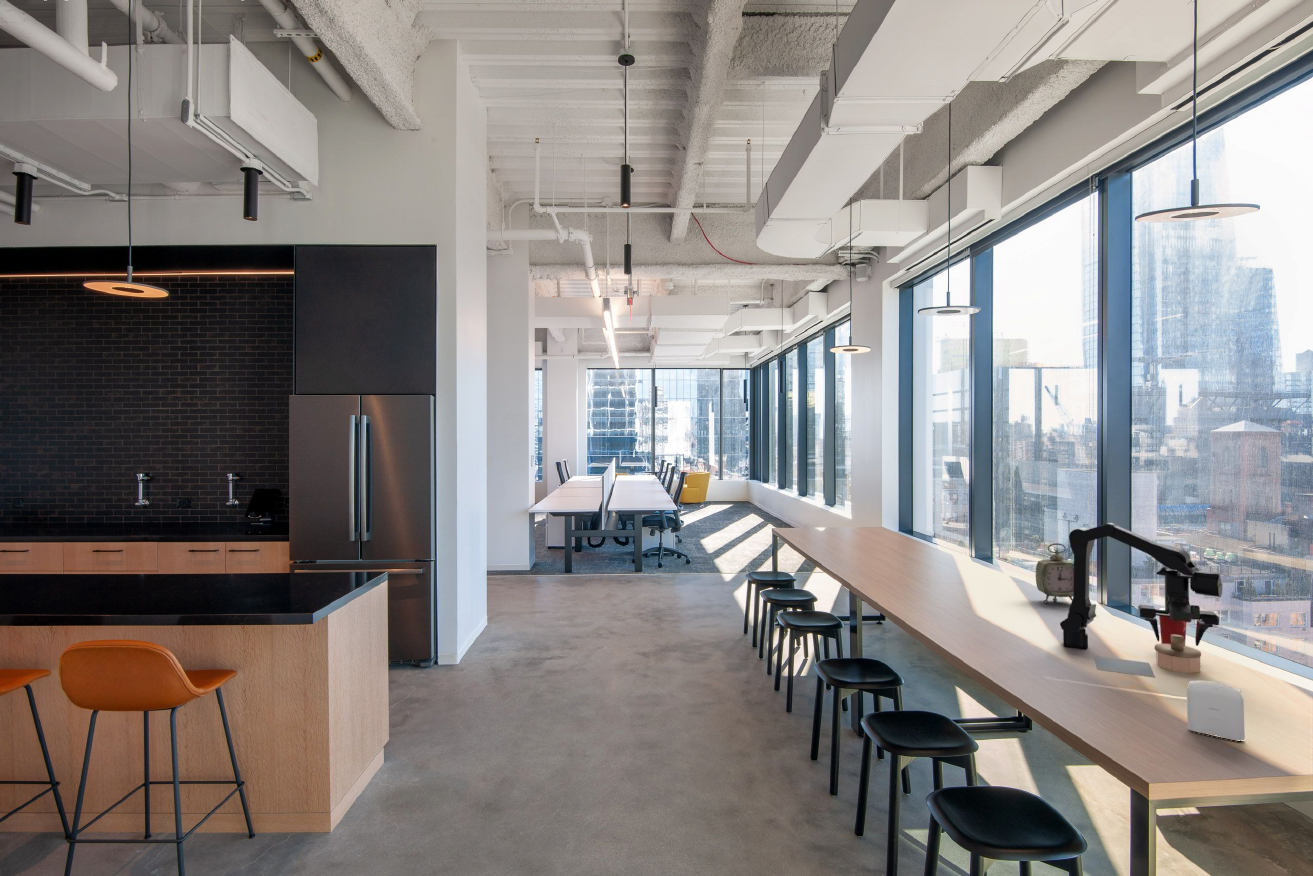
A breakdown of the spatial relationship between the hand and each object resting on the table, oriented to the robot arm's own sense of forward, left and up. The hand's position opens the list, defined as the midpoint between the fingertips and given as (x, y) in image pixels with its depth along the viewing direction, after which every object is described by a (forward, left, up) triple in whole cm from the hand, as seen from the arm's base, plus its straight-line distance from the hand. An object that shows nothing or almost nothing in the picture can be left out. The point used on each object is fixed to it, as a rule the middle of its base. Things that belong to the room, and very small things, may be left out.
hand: (1177, 643), depth 199 cm
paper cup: (+1, +16, -8) cm, 18 cm away
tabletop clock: (-30, +74, -8) cm, 80 cm away
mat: (-14, -7, -8) cm, 17 cm away
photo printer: (0, -51, -8) cm, 52 cm away
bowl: (0, 0, -8) cm, 8 cm away
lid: (0, 0, -3) cm, 3 cm away
